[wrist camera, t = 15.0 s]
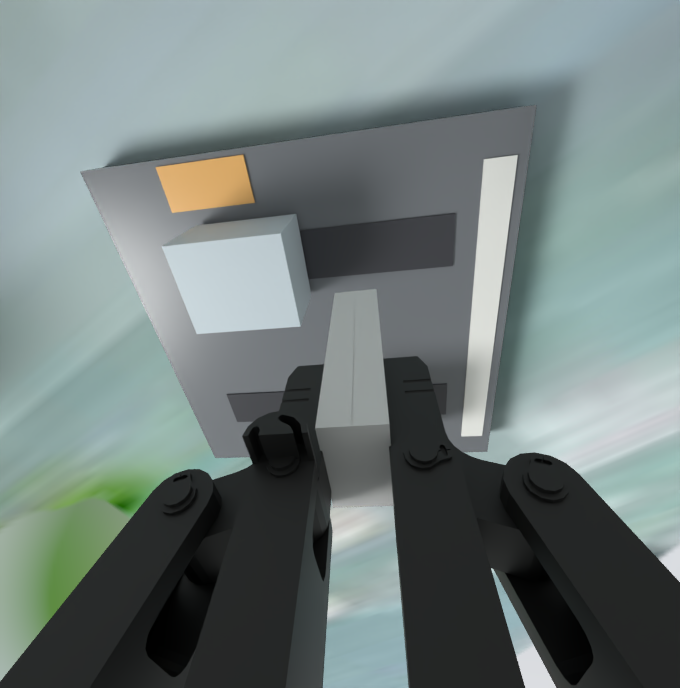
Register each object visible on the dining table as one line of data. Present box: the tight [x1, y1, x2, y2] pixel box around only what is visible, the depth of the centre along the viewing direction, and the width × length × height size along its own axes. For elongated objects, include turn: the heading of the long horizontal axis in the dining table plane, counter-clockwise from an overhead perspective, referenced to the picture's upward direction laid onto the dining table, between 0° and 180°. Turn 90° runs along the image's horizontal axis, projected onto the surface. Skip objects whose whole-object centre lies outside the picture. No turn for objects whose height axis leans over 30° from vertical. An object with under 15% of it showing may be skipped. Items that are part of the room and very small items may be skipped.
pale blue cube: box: [162, 214, 311, 334], centre depth 20 cm, size 6×5×4 cm
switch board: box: [81, 105, 537, 458], centre depth 25 cm, size 24×24×2 cm
